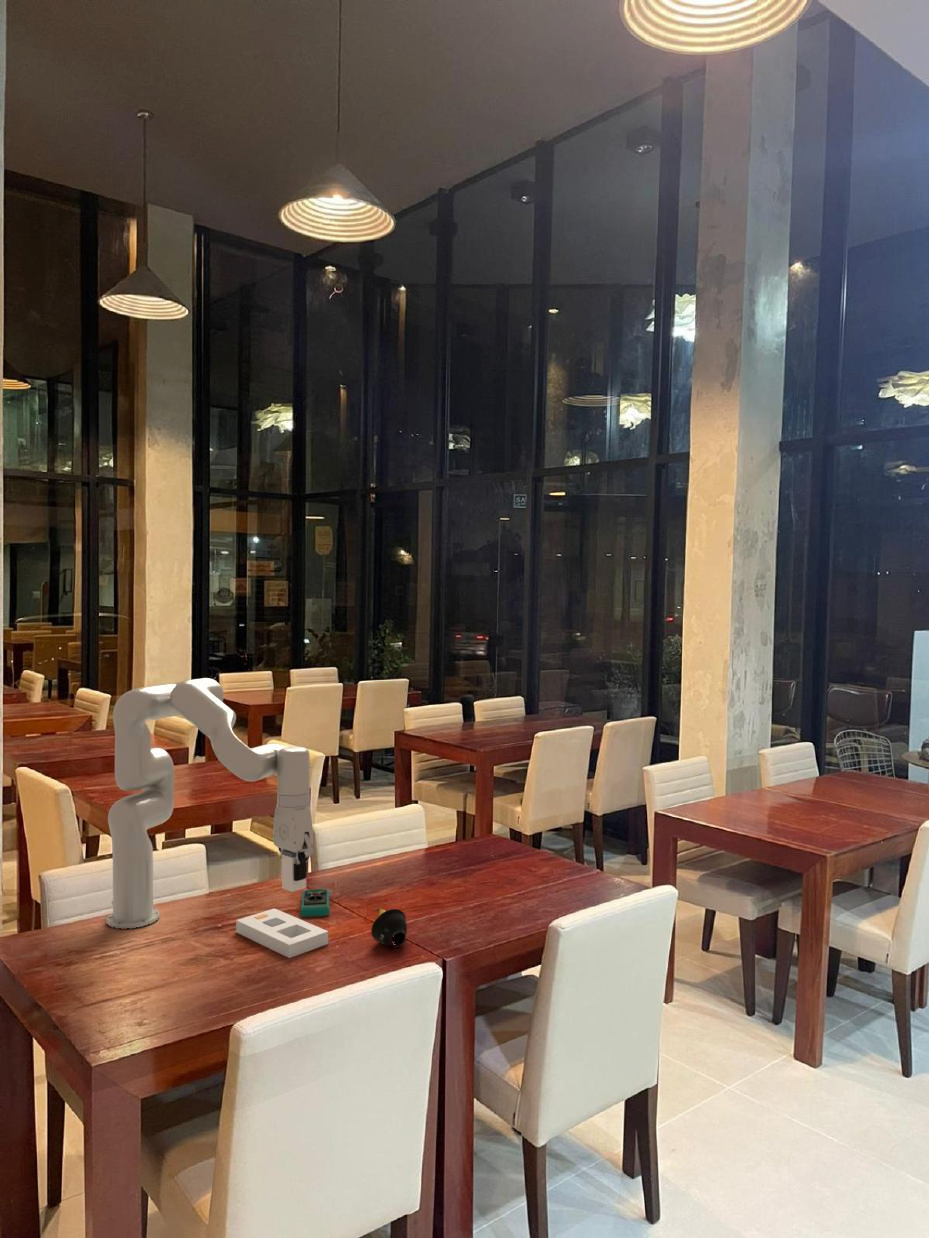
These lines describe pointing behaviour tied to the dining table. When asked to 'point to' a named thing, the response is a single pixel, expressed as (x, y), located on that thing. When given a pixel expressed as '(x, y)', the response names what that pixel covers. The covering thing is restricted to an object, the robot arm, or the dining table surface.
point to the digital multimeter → (315, 903)
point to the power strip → (282, 932)
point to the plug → (290, 872)
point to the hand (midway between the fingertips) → (294, 876)
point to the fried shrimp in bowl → (390, 927)
